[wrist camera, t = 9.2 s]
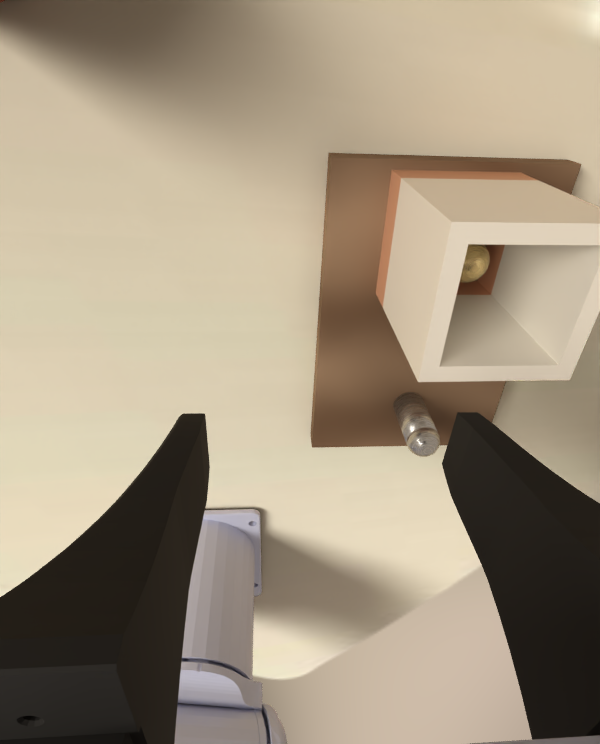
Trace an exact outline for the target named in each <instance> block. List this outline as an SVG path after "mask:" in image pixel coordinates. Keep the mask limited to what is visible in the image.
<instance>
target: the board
mask: <svg viewBox="0 0 600 744" xmlns="http://www.w3.org/2000/svg"><path fill="white" fill-rule="evenodd" d="M580 167H581V164H579V163H576V162H573V161H570V160H556V159H520V158H485V157H450V156H415V155H380V154H344V153H329V157H328V172H327V188H326V203H325V219H324V235H323V250H322V266H321V282H320V297H319V313H318V328H317V344H316V360H315V375H314V391H313V407H312V422H311V442H312V447H362V446H407V444H406V441H405V439H404V436H403V433H402V430H401V428H400V425H399V422H398V420H397V417H396V414H395V411H394V409H393V404H394V401H395V400H396V398H397V397H399V396H400V395H402V394H404V393H408V392H414V393H417V394H419V395H420V396H421V397H422V399H423V401H424V403H425V406H426V408H427V410H428V412H429V414H430V416H431V418H432V421H433V423H434V425H435V427H436V429H437V431H438V434H439V436H440V445H448V442H449V439H450V436H451V432H452V429H453V425H454V422H455V419H456V415H457V412H478V413H480V414H481V415H482V416H484V417H485V418H486V419H487V420H489V421H490V422H491V423H492V421H493V418H494V415H495V412H496V409H497V406H498V403H499V400H500V397H501V395H502V392H503V389H504V386H505V383H506V381H466V382H418V381H417V379H416V377H415V375H414V373H413V371H412V368H411V366H410V364H409V362H408V360H407V358H406V356H405V354H404V352H403V349H402V347H401V345H400V343H399V341H398V339H397V337H396V335H395V333H394V330H393V328H392V326H391V324H390V322H389V320H388V318H387V316H386V314H385V312H384V309H383V307H382V305H381V303H380V301H379V299H378V297H377V295H376V287H377V279H378V272H379V264H380V256H381V249H382V241H383V233H384V226H385V218H386V210H387V203H388V195H389V187H390V180H391V172H392V170H426V171H477V172H521V173H523V174H525V175H527V176H530V177H532V178H534V179H537V180H539V181H541V182H543V183H546V184H548V185H550V186H552V187H555V188H557V189H559V190H561V191H564V192H566V193H568V194H570V195H571V193H572V190H573V187H574V184H575V181H576V178H577V175H578V173H579V170H580ZM484 246H485V247H486V246H487V244H484ZM475 281H478V279H477V280H475Z"/></svg>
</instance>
